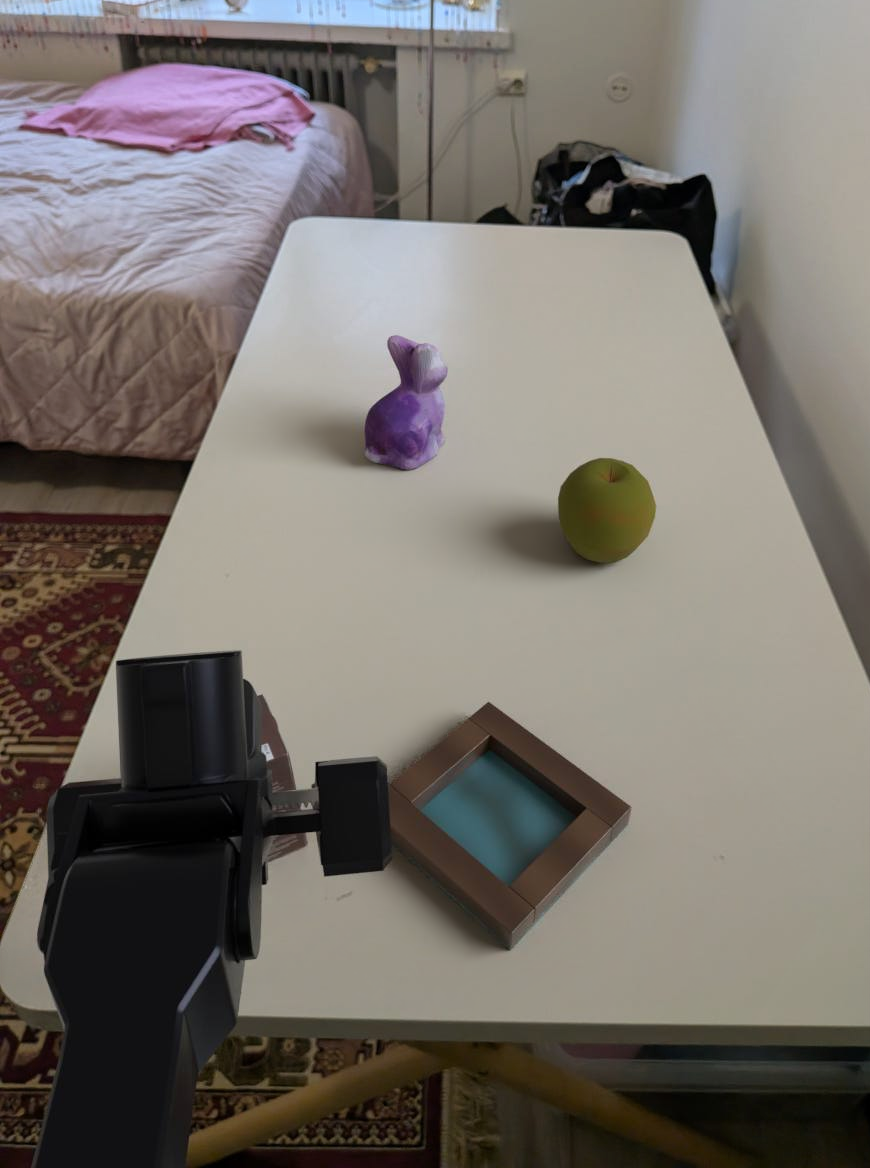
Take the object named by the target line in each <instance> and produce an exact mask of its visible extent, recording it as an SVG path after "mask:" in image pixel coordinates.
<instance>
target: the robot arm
mask: <svg viewBox="0 0 870 1168" xmlns="http://www.w3.org/2000/svg"><path fill="white" fill-rule="evenodd" d="M243 667H244V666H243V651H242V649H241V650H240V649H237V650H233V649H232V650H218V651H217V650H215V651H203V652H187V653H177V654H175V653H174V654H166V655H165V654H164V655H155V656H147V657H146V656H143V657H135V658H133V657H132V658H126V659H119V660H115V678H116V701H117V702H116V703H117V704H116V705H117V723H118V724H117V725H118V726H117V727H118V747H119V748H118V749H119V750H118V751H119V769H120V770H119V772H120V778H108V779H96V780H95V779H93V780H85V781H72V782H71V781H69V782H67V783H66V784H63V785H61V786H60V787H58V788H57V789H56V790H55V792H54V793H53V794H52V795H51V796H50V798H49V800H48V804H47V808H46V811H45V815H46V816H45V817H46V845H47V847H46V848H47V878H48V879H47V883H46V887H45V893H44V898H43V902H42V908H41V911H40V916H39V921H38V925H37V926H38V927H37V933H36V944H37V948H38V950H39V951H40V953H42V955H43V960H44V963H43V964H44V965H43V973H44V977H45V981H46V984H47V986H48V989H49V991H50V994H51V997H52V1000H53V1003H54V1006H55V1009H56V1013H57V1015H58V1018H59V1021H60V1023H61V1026H62V1029H63V1036H62V1040H61V1045H60V1051H59V1055H58V1061H57V1065H56V1069H55V1073H54V1076H53V1081H52V1084H51V1089H50V1093H49V1097H48V1100H47V1105H46V1108H45V1112H44V1116H43V1120H42V1124H41V1126H40V1127H41V1128H40V1132H39V1135H38V1139H37V1144H36V1146H35V1147H36V1148H35V1150H34V1155H33V1159H32V1162H31V1165H30V1166H31V1167H30V1168H186V1166H187V1158H188V1151H189V1141H190V1135H191V1126H192V1119H193V1111H194V1102H195V1097H196V1096H195V1095H196V1090H197V1084H198V1078H199V1074H200V1072H201V1071H202V1070H203V1069H204V1067H205V1065H207V1063H208V1062H209V1061H210V1059H211V1058H212V1056H214V1054H215V1053H216V1052H217V1050H218V1049H219V1048H220V1047H221V1045H222V1044H223V1042H224V1041H225V1040H226V1039H227V1037H228V1036H229V1035H230V1033H232V1031H233V1030H234V1028H235V1027H236V1025H237V1023H238V1019H239V1011H240V1003H241V995H242V988H243V981H244V972H245V966H246V965H245V964H246V961H251V960H257V959H258V957H259V954H260V949H261V938H262V906H263V905H262V904H263V903H262V900H263V896H262V895H263V886H266V885H267V884H268V881H269V865H268V863H269V862H267V855H268V853H269V851H270V848H271V846H272V843H273V839H274V836H277V835H288V834H299V833H306V834H307V833H315V836H316V840H317V848H318V855H319V861H320V866H322V871H323V877H334V876H345V875H354V874H355V875H356V874H365V873H376V872H384V871H385V869H386V868H387V867H388V865H389V864H390V863H391V862H392V860H393V849H392V848H393V847H392V845H393V844H392V843H391V827H390V810H389V794H388V785H389V778H388V765H387V763H385V762H384V761H383V760H382V759H381V758H380V757H379V756H377V755H374V756H362V757H351V758H350V757H349V758H339V759H332V760H322V761H321V760H320V761H315V764H314V766H315V767H314V782H313V783H311V786H310V788H300V789H296V790H287V791H276V792H273V782H272V770H267V761H266V755H265V754H264V753H263V752H262V745H261V716H262V706H261V702H260V700H259V698H258V696H259V695H258V694H257V693H256V690H255V688H254V686H253V685H252V683H251V682H250V681H249V680H248V679H245V678H244V670H243ZM288 804H289V805H290V807H291V809H293V808H294V805H295V804H297V806H298V808H301V807H302V804H303V806H304V808H308V807H309V804H310V806H311V808H308V809H301V810H296V811H285V812H274V813H272V810H273V807H274V805H275V806H276V808H277V810H280V807H281V805H283V808H284V810H286V809H287V806H288Z"/></svg>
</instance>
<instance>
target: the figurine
mask: <svg viewBox="0 0 870 1168" xmlns="http://www.w3.org/2000/svg"><path fill="white" fill-rule="evenodd" d="M386 346H387V349H388V352H389V355H390V357H391V359H392V361H393V363H394V365H395V367H396V369H397V371H398V374H399V379H400V384H399V385H398V386H397V387H396V388H394V389H393V390H391V391H390V392H388V393H387V394H385V395H384V396H382V397H381V398H380V399H379V400H377V401H376V402H375V403H374V404H373V405H372V406H371V407H370V408H369V410H368V412H367V413H366V414H367V415H366V417H365V422H364V443H365V444H364V456H365V457H366V459H368V460H370V461H371V462H373V463H375V464H382V465H386V466H391V467H393V468H398V469H401V470H405V471H410V470H416V469H418V468H420V467H422V466H423V465H425V464H426V463H428V462H430V461H431V460H433V459H434V458H435V457H436V456H437V455H438V452H439V449H440V447H442V445H443V444H444V443H445V436H444V434H443V431H442V428H443V422H444V417H445V409H446V403H445V402H446V401H445V398H444V395H443V392H442V390H441V387H440V386H441V385H442V383H443V382H444V381H445V380H446V378H447V377H448V371H449V368H448V365H447V363H445V361H443V357H442V352H441V350H440V349H439V348H438V347H436V346H435V345H433V344H429V343H426V342H425V343H419V342H416V341H413V340H411V339H409V338H407V337H405V336H401V335H398V334H395V335H390V336H389V337H388V339H387V342H386Z"/></svg>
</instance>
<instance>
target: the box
mask: <svg viewBox="0 0 870 1168" xmlns="http://www.w3.org/2000/svg"><path fill="white" fill-rule="evenodd" d="M257 696H258V698H259V700H260V702H261V706H262V716H261V745H262V752H263V753H264V754H265V755H266V761H267V770H272V782H273V792H276V791H287V790H297V786H296V781H295V775H294V771H293V766H292V761H291V756H290V754H289V750H288V748H287V746H286V743H285V741H284V739H283V736H282V734H281V731H280V729H279V724H278V722H277V719H276V718H275V716H274V715H273V713H272V711H271V708H270V706H269V703H268V701H267V699H266V697H265V695H264V694H259V695H257ZM296 810H302V809H301V807H300V808H298V806H297V804H295V805H294V808H293V809H291V807H290V805H289V804H288V806H287V809H286V810H284V808H283V805H281V807H280V810H277V808H276V806H275V805H274V807H273V810H272V813H274V812H285V811H296ZM308 843H309V842H308V838H307V833H299V834H288V835H277V836H274V839H273V843H272V846H271V848H270V851H269V853H268V855H267V862H268V863H269V862H271V861H274V860H277V859H279V858H282V857H284V856H286V855H288V854H291V853H294V852H295V851H299V850H301V849H302V848H305V847H307V846H308Z"/></svg>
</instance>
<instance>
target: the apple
mask: <svg viewBox="0 0 870 1168" xmlns="http://www.w3.org/2000/svg"><path fill="white" fill-rule="evenodd" d="M557 510H558V511H557V512H558V513H557V515H558V521H559V524H560V527H561V529H562V532H563V535H564V536H565V538H566V540H567V543H568V545H569V546H570V547H571V548H572V550H573V551H574V552H575V554H578V556H580V557H582V558H584V559H585V560H588V561H592V562H596V563H604V564H605V563H617V562H619V561H622V560H624V559H627V558H628V557H629V556H630V555H631V554H633V553H634V552H635V551H636V550H637V549H638V548H639V547H640V546H641V544H642V543H643V542H644V541H645V540H646V539H647V538H648V537H649V534H650V532H651V530H652V526H653V525H654V521H655V518H656V512H657V511H656V510H657V504H656V500H655V496H654V494H653V491H652V488H651V485H650V483H649V480H648V479H647V478H646V477H645V476H644V475H643V474H642V473H641V472H640V471H639V470H638V469H637V468H636V467H635V466H634V465H633V464H631V463H628V462H626V461H623V460H620V459H617V458H613V457H612V458H611V457H599V458H594V459H591V460H589V461H586V462H585V463H582V464H581V465H579V466H578V467H576V468H575V469H574V470H572V471H571V472H570V473H569V475H568V476H567V477H566V479H565V480H564V482H563V483H562V484H561V485H560V488H559V492H558V497H557Z"/></svg>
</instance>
